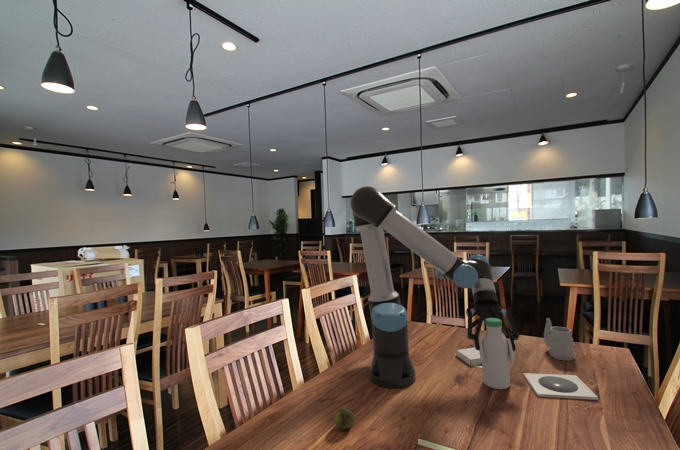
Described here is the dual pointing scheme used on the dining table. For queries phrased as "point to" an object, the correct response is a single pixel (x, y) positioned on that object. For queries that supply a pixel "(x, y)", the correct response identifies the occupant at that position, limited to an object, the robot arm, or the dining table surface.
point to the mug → (559, 342)
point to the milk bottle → (495, 356)
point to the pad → (559, 386)
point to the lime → (344, 418)
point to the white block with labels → (469, 355)
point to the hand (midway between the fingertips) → (497, 360)
